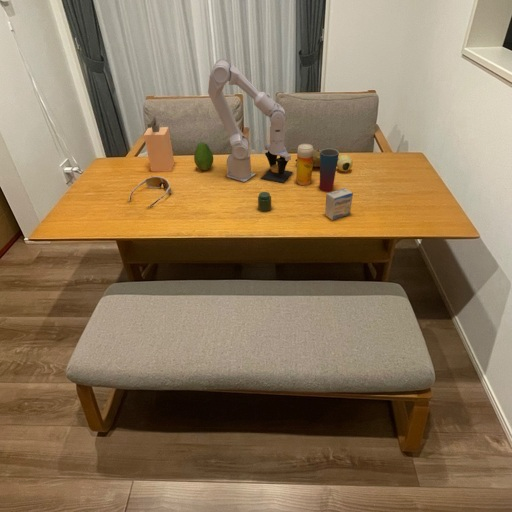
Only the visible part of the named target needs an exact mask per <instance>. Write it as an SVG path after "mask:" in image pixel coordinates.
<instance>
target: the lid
mask: <svg viewBox="0 0 512 512" xmlns="http://www.w3.org/2000/svg"><path fill="white" fill-rule="evenodd" d="M271 171H272V172H275V173H279V172H278V164H277V163H276V164H274V165H272V166H271Z"/></svg>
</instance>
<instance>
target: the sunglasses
mask: <svg viewBox="0 0 512 512" xmlns="http://www.w3.org/2000/svg"><path fill="white" fill-rule="evenodd" d="M144 184H145V186H146V187H147V188H150V189H160V188H161V187H163V189H165V192H164V193H163V194H162V195H161V196H160V197H158V198H157V199H156V200H154V201H153V202H152V203H151V204H149V206H148V208H151V207H153V206H154V205H155V204H157V203H158V202H159V201H160V200H162V199H163V198H164V197H165V196H166V194H168V193H169V194H170V195H171V194H172V188H171V187H172V186H171V183H170V182H169V180H168V179H167V178H165V177H163V176H159V175H153V176H150V177H145V179H144V180H142V181H141V182H140V183H138V184H137V185H136V186H135V187H134V188H133V189H132V191H130V194H129V198H128V202H131V198H132V195H133V194H134V192H135V191H136V190H137V189H138V188H139V187H140V186H142V185H144Z"/></svg>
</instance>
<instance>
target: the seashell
mask: <svg viewBox="0 0 512 512" xmlns="http://www.w3.org/2000/svg"><path fill="white" fill-rule="evenodd" d="M321 150H322V149H320V148H317V149H314V151H313V165H312V167H313V168H317V167H318V168H320V151H321ZM295 162H296V163H295V164H296V165H297V158H296V159H295Z"/></svg>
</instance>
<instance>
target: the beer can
mask: <svg viewBox="0 0 512 512" xmlns="http://www.w3.org/2000/svg"><path fill="white" fill-rule="evenodd" d="M314 150H315V149H314V146H313V145H312V144H310V143H301V144H299V145H298V147H297V150H296V151H297V152H296V153H297V154H296V159H297V162H296V163H297V164H296V173H295V174H296V175H295V176H296V177H295V181H296V183H297V184H298V185H299V186H300V185H301V186H308V185H310V183H311V182H312V181H313V180H312V179H313V166H312V165H313V151H314Z"/></svg>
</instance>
